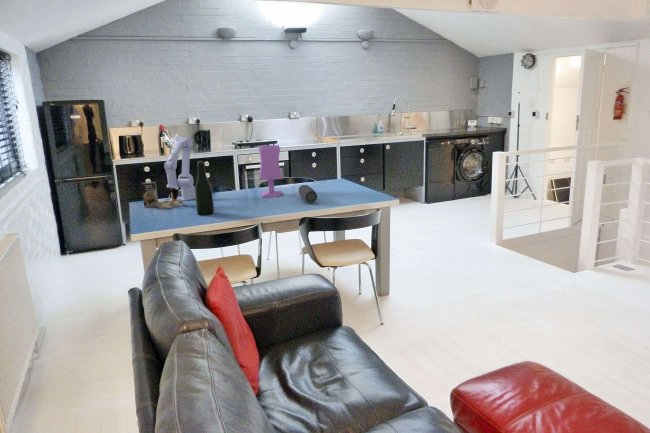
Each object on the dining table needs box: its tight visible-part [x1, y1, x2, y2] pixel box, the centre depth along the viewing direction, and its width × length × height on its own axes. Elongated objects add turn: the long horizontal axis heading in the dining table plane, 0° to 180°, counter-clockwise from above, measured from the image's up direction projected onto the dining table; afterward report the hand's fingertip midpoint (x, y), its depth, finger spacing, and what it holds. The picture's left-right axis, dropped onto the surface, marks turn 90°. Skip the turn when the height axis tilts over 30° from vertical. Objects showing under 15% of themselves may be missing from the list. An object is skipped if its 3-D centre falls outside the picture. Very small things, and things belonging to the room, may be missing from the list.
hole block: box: [156, 198, 184, 210], centre depth 318 cm, size 14×10×3 cm
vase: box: [257, 144, 283, 198], centre depth 337 cm, size 16×16×35 cm
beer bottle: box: [194, 160, 215, 216], centre depth 289 cm, size 10×10×33 cm
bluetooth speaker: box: [298, 184, 318, 204], centre depth 317 cm, size 23×9×10 cm, turn 14°
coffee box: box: [140, 181, 159, 208], centre depth 319 cm, size 9×6×16 cm
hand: (174, 198), depth 319 cm, fingers closed on dowel, 3 cm apart
